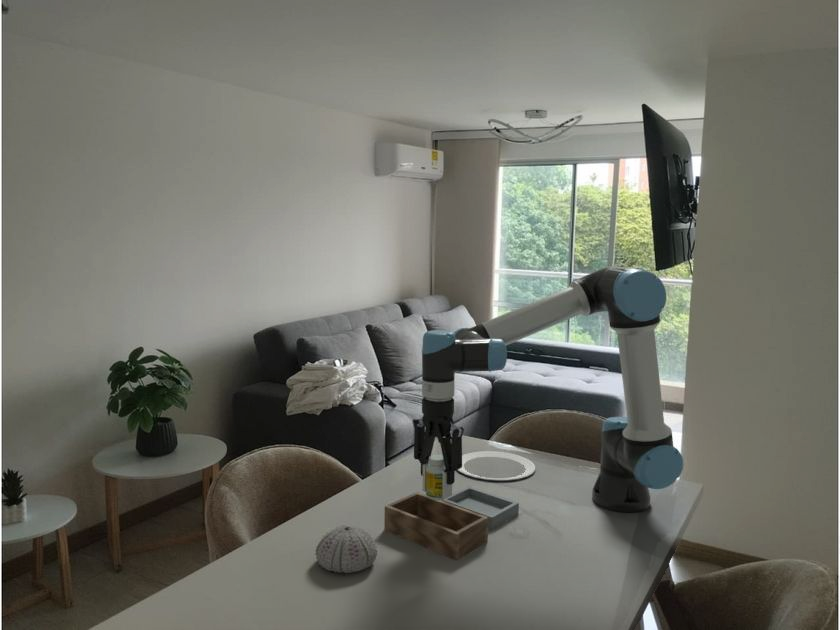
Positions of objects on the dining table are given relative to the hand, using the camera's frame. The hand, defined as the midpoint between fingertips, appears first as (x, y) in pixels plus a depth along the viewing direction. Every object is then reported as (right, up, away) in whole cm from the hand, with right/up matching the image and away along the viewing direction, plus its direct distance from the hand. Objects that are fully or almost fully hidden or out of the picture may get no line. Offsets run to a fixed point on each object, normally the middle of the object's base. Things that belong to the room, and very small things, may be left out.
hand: (437, 492), depth 160 cm
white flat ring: (+19, -5, +48) cm, 52 cm away
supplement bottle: (0, -1, 0) cm, 1 cm away
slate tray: (+11, -9, +15) cm, 21 cm away
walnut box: (0, -11, +1) cm, 11 cm away
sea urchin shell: (-20, -12, -12) cm, 26 cm away
